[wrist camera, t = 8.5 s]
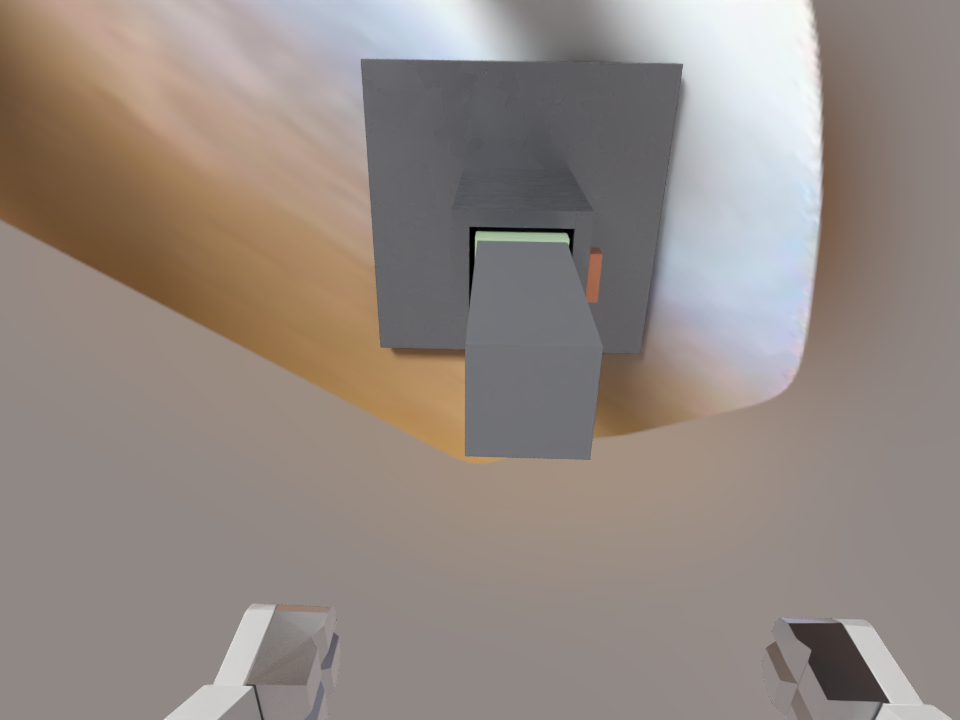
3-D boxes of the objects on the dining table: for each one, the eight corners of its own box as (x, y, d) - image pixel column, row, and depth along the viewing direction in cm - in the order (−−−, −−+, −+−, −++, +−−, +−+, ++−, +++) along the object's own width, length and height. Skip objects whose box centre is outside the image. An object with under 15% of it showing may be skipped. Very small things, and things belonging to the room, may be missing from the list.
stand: (384, 338, 44) (346, 431, 33) (366, 58, 36) (308, 63, 25) (635, 344, 43) (680, 440, 33) (676, 63, 35) (752, 70, 25)
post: (478, 285, 34) (461, 458, 20) (478, 210, 32) (462, 340, 18) (553, 287, 34) (592, 462, 20) (559, 211, 32) (607, 344, 18)
